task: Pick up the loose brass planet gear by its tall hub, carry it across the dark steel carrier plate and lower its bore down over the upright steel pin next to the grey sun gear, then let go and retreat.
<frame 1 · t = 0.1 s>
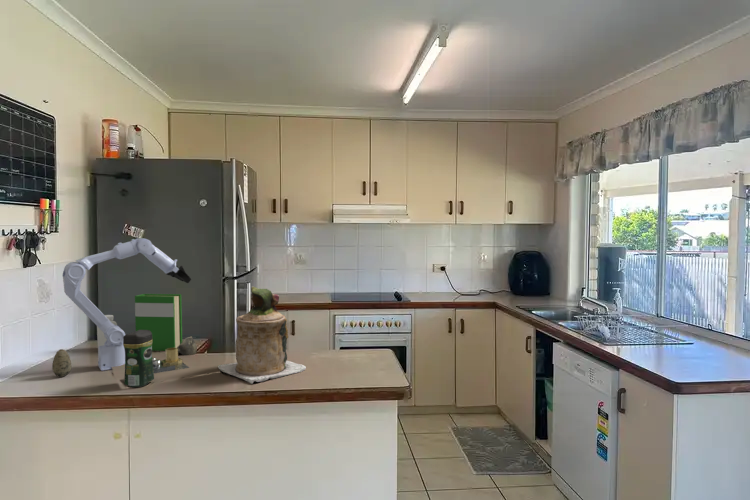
hand: (187, 280, 215), 32 cm above the counter, tool tilted 50°, fingers open, 7 cm apart
carrier: (163, 368, 198), on the counter
coffee jar: (139, 384, 179), on the counter
hardback book: (159, 349, 230), on the counter
cookie jar: (262, 371, 194), on the counter
decorative egg: (62, 376, 188), on the counter
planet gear: (171, 363, 201), point 1 cm above the counter, touching carrier
fossil: (184, 355, 218), on the counter
pill bottle: (107, 349, 228), on the counter
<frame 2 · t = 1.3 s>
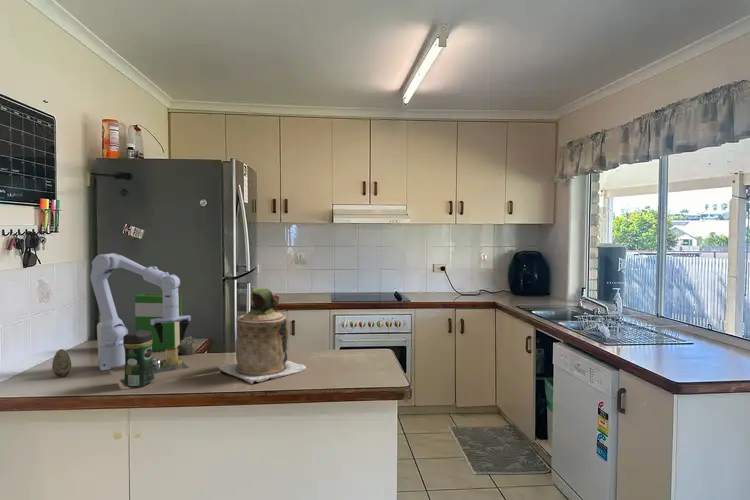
hand: (171, 341, 200), 10 cm above the counter, tool pointing down, fingers open, 7 cm apart
nothing on the counter moved.
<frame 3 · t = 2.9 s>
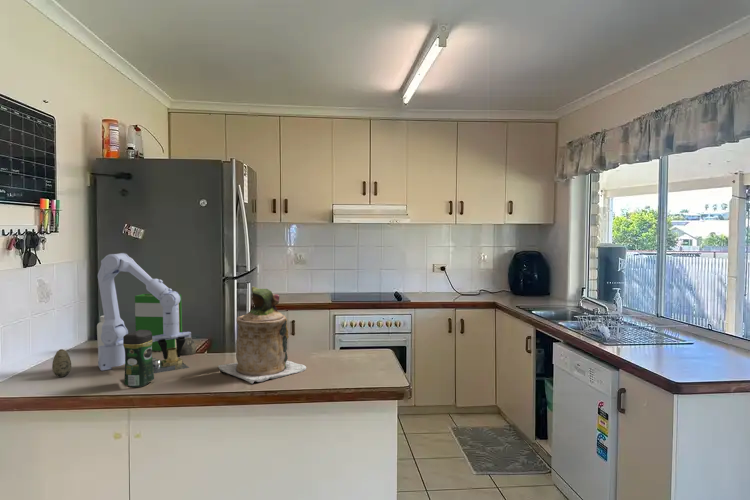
hand: (171, 357, 200), 3 cm above the counter, tool pointing down, fingers closed on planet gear, 4 cm apart
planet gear: (171, 363, 201), point 1 cm above the counter, touching carrier, gripper
everything else where it was.
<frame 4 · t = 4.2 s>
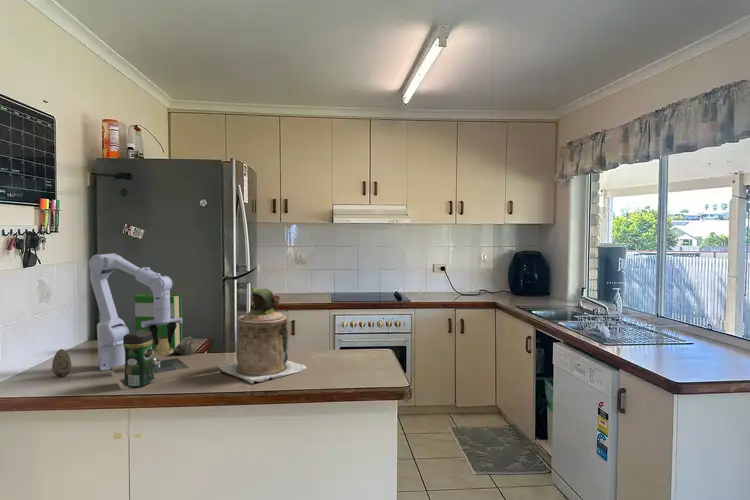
hand: (162, 343, 196), 10 cm above the counter, tool pointing down, fingers closed on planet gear, 4 cm apart
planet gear: (162, 352, 196), point 6 cm above the counter, touching gripper
everything else where it was.
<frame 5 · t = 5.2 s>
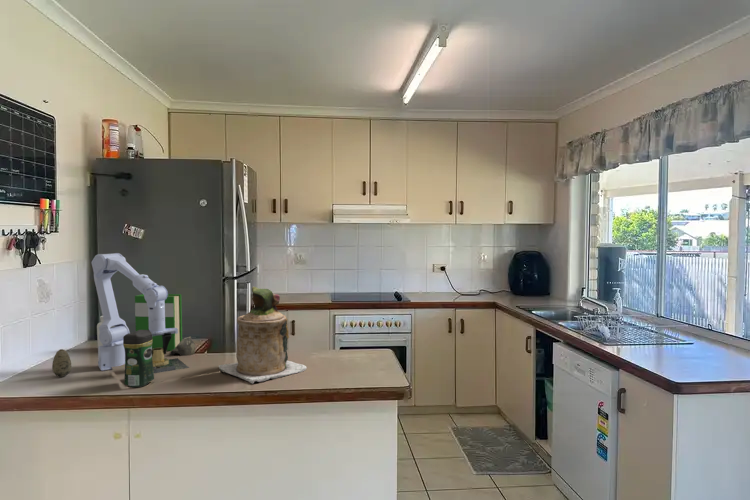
hand: (157, 354, 194), 6 cm above the counter, tool pointing down, fingers closed on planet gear, 4 cm apart
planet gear: (157, 364, 194), point 3 cm above the counter, touching gripper
everything else where it was.
when the fingers open (5 cm above the counter, at t = 6.4 s): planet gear stays where it is, resting on carrier.
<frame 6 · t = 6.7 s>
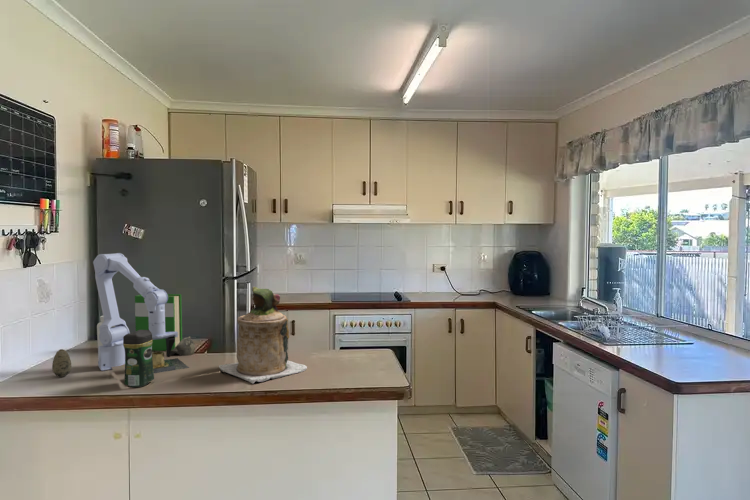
hand: (157, 358, 194), 5 cm above the counter, tool pointing down, fingers open, 7 cm apart
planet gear: (157, 368, 194), point 1 cm above the counter, touching carrier
everything else where it was.
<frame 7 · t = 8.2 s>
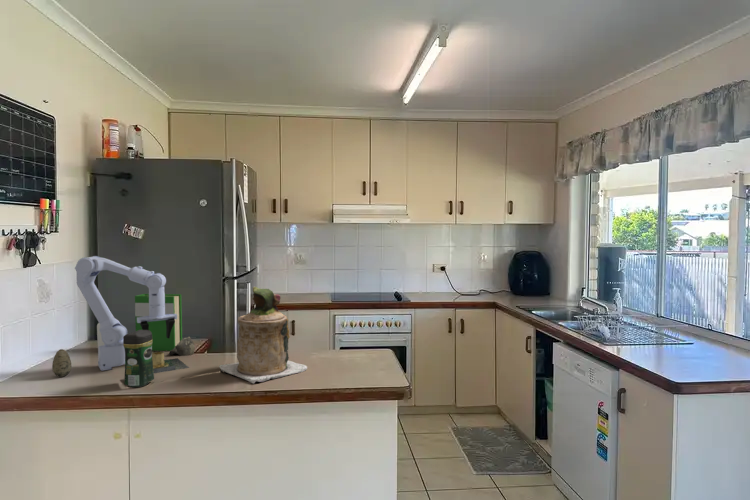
hand: (157, 339, 201), 10 cm above the counter, tool pointing down, fingers open, 7 cm apart
nothing on the counter moved.
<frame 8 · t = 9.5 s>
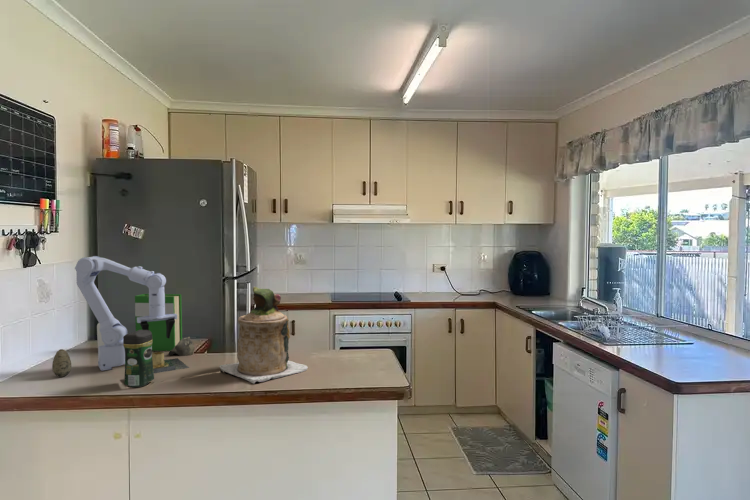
hand: (157, 339, 201), 10 cm above the counter, tool pointing down, fingers open, 7 cm apart
at the end: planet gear 0.0 cm from the target spot on the carrier, point 1.0 cm above the carrier's base; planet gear tilted 0°; the gripper is holding nothing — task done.
